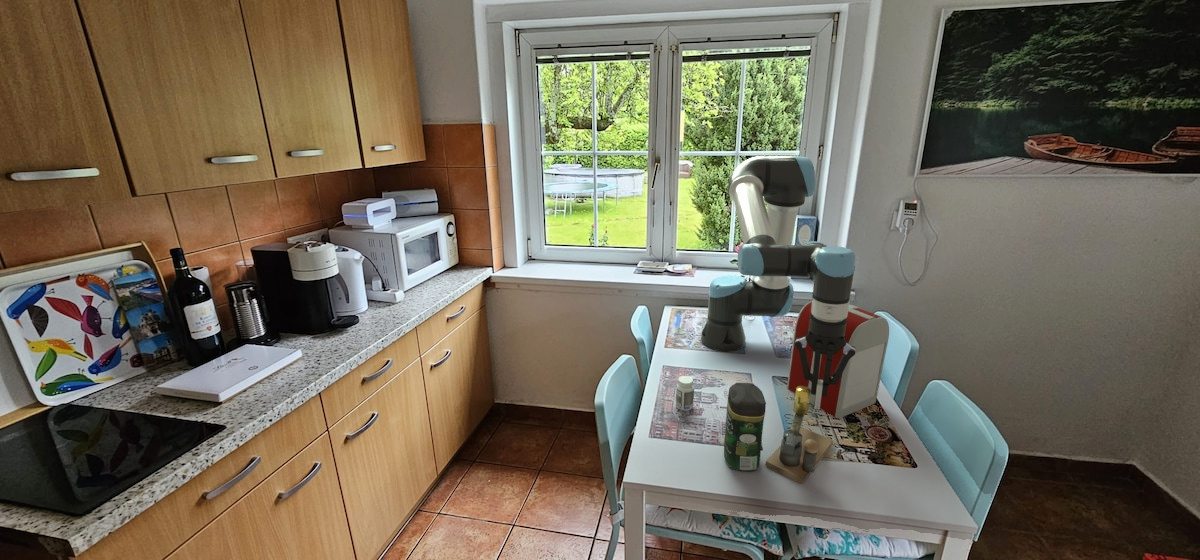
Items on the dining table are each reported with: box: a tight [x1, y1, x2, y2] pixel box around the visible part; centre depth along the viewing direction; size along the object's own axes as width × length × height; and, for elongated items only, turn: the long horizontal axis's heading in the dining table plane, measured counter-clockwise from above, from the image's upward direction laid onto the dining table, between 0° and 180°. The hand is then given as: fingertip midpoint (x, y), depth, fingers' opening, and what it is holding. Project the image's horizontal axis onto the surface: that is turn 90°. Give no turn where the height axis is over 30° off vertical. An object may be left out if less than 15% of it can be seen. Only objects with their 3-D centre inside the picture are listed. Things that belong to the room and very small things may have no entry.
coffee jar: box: [723, 382, 767, 472], centre depth 111 cm, size 10×8×19 cm
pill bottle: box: [675, 375, 695, 411], centre depth 133 cm, size 5×5×8 cm
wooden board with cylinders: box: [764, 426, 834, 485], centre depth 114 cm, size 10×18×9 cm, turn 136°
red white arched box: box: [786, 300, 890, 419], centre depth 135 cm, size 17×18×27 cm
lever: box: [782, 386, 811, 455], centre depth 112 cm, size 4×17×8 cm, turn 151°
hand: (817, 406), depth 117 cm, fingers closed
